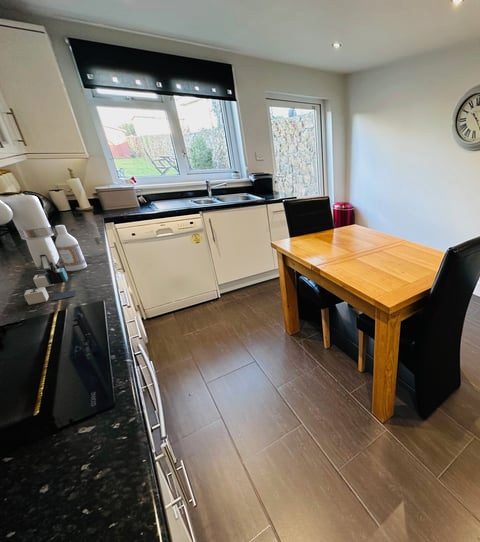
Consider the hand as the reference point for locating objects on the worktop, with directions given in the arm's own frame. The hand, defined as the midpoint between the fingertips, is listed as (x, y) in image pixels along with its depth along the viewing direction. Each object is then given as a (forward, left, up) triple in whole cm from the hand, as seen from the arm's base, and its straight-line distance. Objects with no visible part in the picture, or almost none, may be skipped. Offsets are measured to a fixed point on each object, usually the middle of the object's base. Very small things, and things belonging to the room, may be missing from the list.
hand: (58, 280), depth 103 cm
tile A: (-7, +16, -6) cm, 18 cm away
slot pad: (0, 0, -6) cm, 6 cm away
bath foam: (+1, +31, -6) cm, 32 cm away
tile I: (-7, 0, -6) cm, 9 cm away
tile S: (0, 0, 0) cm, 0 cm away
